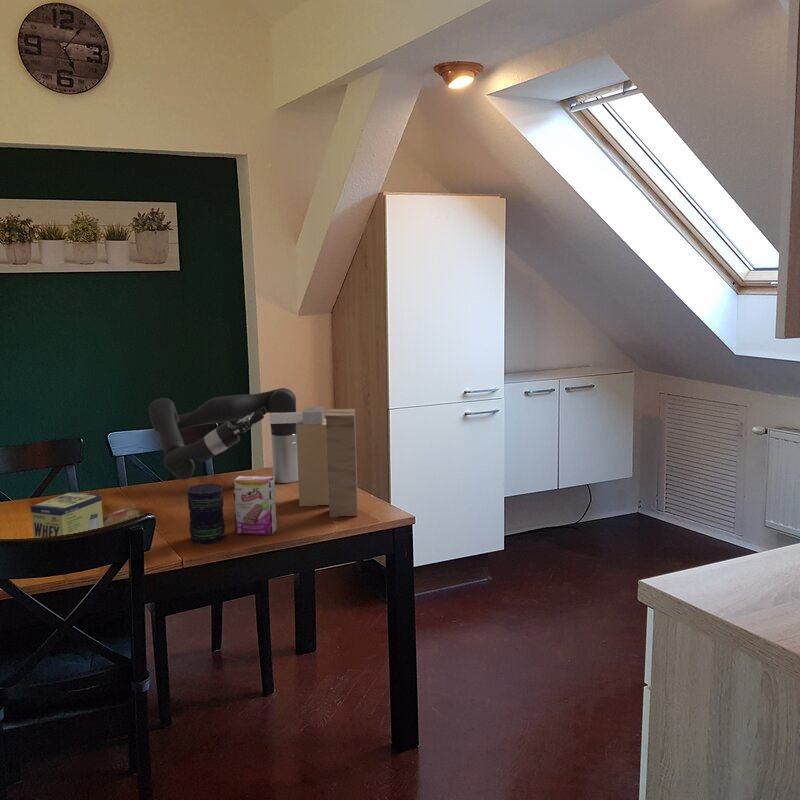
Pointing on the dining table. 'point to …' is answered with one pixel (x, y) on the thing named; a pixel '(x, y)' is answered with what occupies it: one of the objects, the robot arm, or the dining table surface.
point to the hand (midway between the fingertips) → (264, 412)
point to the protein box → (67, 515)
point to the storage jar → (206, 514)
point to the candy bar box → (254, 505)
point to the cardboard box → (312, 464)
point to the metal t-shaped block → (300, 416)
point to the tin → (122, 516)
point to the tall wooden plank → (342, 462)
